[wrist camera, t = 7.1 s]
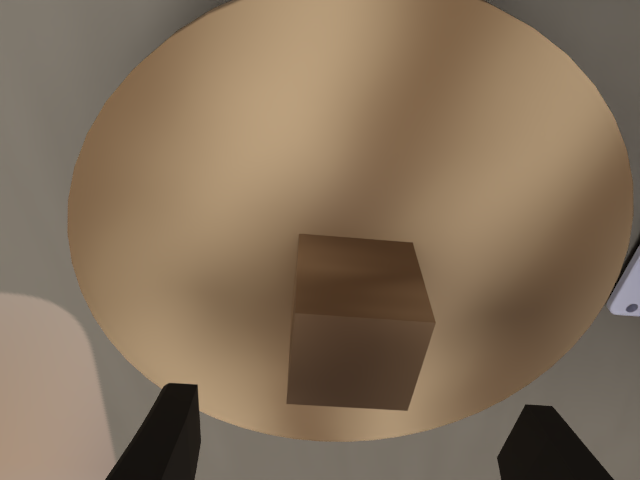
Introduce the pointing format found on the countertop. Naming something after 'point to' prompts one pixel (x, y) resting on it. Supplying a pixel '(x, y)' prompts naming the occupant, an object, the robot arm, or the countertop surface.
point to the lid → (350, 213)
